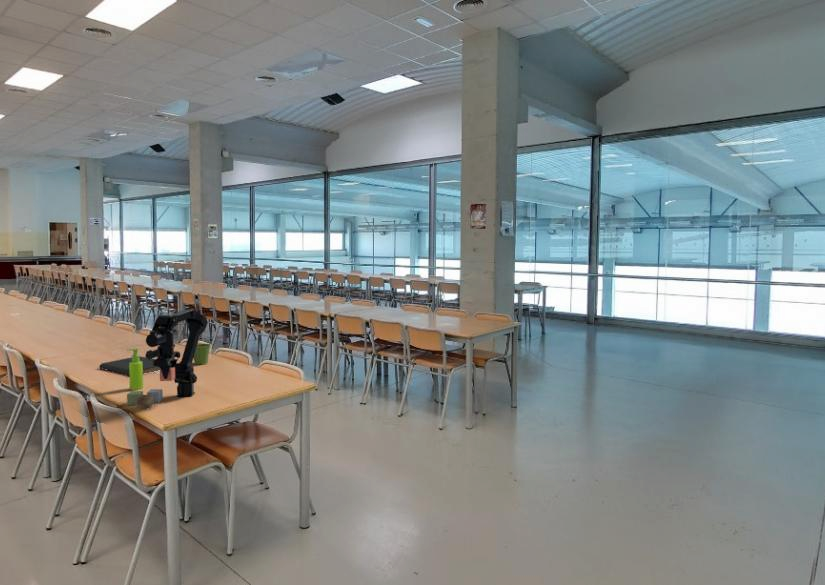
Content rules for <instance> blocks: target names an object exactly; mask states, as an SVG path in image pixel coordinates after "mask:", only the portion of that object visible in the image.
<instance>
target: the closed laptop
mask: <svg viewBox="0 0 825 585" xmlns="http://www.w3.org/2000/svg"><path fill="white" fill-rule="evenodd" d="M139 359H140V361H141V362H142V364H143V374H144V373H149V372H154V371H158V370H160V368H159V367H158V366H153V361H154V360H155V359H156V358H152V359H151V360H148V358H146V357H145V356H140V355H139ZM130 362H132V356H131V357H127V358H123V359H116V360H112V361H107V362H102V363H101V364H99V369H100V368H103V369H102V370H104V369H107V370H106V371H108V370H111V371H110V372H112V371H114V372H113V373H117V372H119V373H118V374H121V373H123V374H122V375H125V374H127V375H126V376H129V363H130ZM158 372H159V371H158ZM154 373H155V372H154ZM149 374H150V373H149ZM144 375H145V374H144Z"/></svg>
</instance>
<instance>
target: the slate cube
mask: <svg viewBox="0 0 825 585" xmlns="http://www.w3.org/2000/svg"><path fill="white" fill-rule="evenodd" d="M163 394H164V391H163V389H162V388H161V389H160V388H158V389H157V388H156V389H153V388H152V389H150V390H148V391H146V395H153V402H159V403H161V402H162V401H163V400H164V399H163V398H164V397H163ZM162 399H163V400H162ZM161 400H162V401H161ZM160 401H161V402H160Z"/></svg>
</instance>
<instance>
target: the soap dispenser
mask: <svg viewBox="0 0 825 585" xmlns="http://www.w3.org/2000/svg"><path fill="white" fill-rule="evenodd" d="M126 351H133V354H132V355H131V357H132V362H130V363H129V375H130V376H129V375H128V376H129V390H130V389H131V390H130V391H139V390H138V389H140V390H142V388H143V389H144V375H143V364H142V362H141V361H140V359H139V356H140V354H138V351H140V348H132V347H131V348H129V349H126Z"/></svg>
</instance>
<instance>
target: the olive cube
mask: <svg viewBox="0 0 825 585" xmlns="http://www.w3.org/2000/svg"><path fill="white" fill-rule="evenodd" d="M140 395H144V391H143V390H130V392H128V393H127V394H126V405H127V406H134V405H133V404H137V397H139V396H140Z"/></svg>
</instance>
